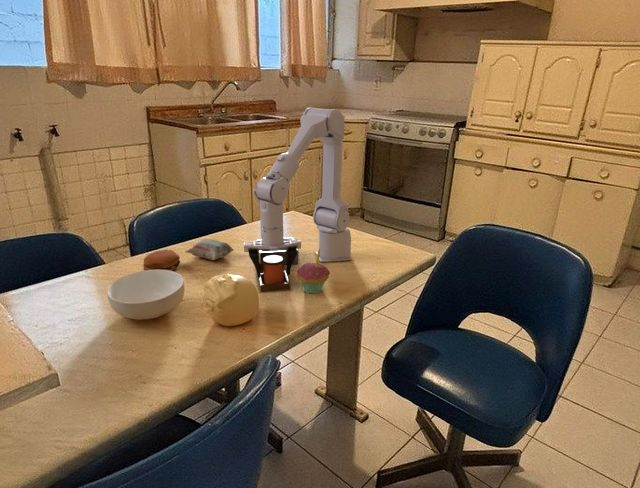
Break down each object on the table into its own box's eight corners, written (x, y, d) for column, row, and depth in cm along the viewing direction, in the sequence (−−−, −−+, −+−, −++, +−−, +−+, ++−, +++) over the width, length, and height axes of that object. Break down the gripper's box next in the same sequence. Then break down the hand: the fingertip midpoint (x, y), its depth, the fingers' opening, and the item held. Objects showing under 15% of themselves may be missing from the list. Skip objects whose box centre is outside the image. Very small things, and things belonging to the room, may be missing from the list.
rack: (282, 267, 131) (282, 261, 130) (289, 289, 118) (289, 283, 117) (256, 269, 130) (256, 263, 129) (260, 292, 116) (260, 285, 116)
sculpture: (199, 314, 106) (195, 271, 102) (248, 302, 111) (246, 261, 107) (215, 337, 97) (211, 292, 92) (267, 323, 102) (265, 280, 98)
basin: (293, 250, 143) (292, 237, 141) (298, 264, 133) (298, 250, 131) (258, 253, 141) (257, 239, 139) (260, 267, 131) (260, 252, 129)
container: (282, 278, 123) (281, 254, 121) (284, 286, 119) (284, 262, 116) (263, 279, 122) (262, 255, 120) (264, 288, 118) (263, 263, 115)
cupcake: (334, 286, 120) (335, 243, 116) (320, 299, 113) (320, 255, 108) (305, 280, 123) (305, 238, 119) (290, 292, 116) (289, 249, 112)
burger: (141, 276, 124) (138, 260, 122) (148, 263, 133) (146, 248, 131) (178, 274, 126) (176, 259, 124) (183, 261, 134) (181, 246, 132)
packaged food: (214, 266, 131) (213, 250, 129) (185, 257, 137) (183, 242, 135) (234, 256, 138) (234, 241, 136) (206, 249, 144) (204, 234, 142)
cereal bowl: (111, 301, 111) (106, 275, 108) (182, 290, 117) (179, 265, 114) (111, 336, 96) (105, 307, 94) (191, 321, 102) (188, 293, 100)
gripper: (243, 232, 109) (246, 283, 114) (303, 229, 112) (303, 279, 117) (242, 223, 116) (245, 272, 121) (298, 220, 119) (298, 268, 124)
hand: (273, 274), depth 120 cm, fingers open, 7 cm apart
